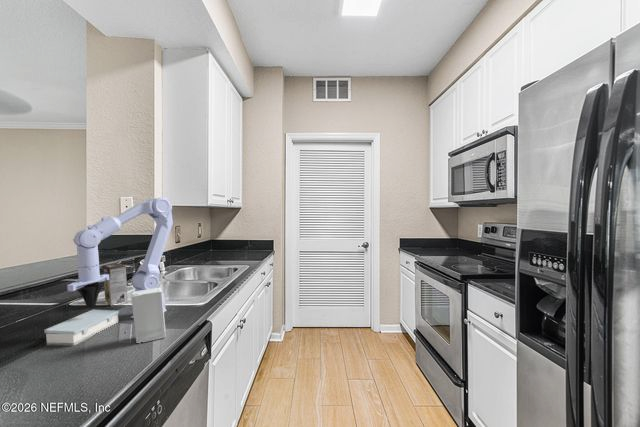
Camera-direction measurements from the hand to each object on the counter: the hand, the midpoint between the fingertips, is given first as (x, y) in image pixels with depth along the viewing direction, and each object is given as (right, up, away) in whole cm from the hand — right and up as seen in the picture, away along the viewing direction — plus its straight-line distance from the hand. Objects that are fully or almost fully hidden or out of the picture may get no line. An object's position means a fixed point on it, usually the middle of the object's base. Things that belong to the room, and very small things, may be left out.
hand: (91, 306), depth 108 cm
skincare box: (+24, -8, -8) cm, 26 cm away
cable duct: (-1, -8, -2) cm, 8 cm away
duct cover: (-1, -5, -2) cm, 5 cm away
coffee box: (-11, -7, +31) cm, 34 cm away
